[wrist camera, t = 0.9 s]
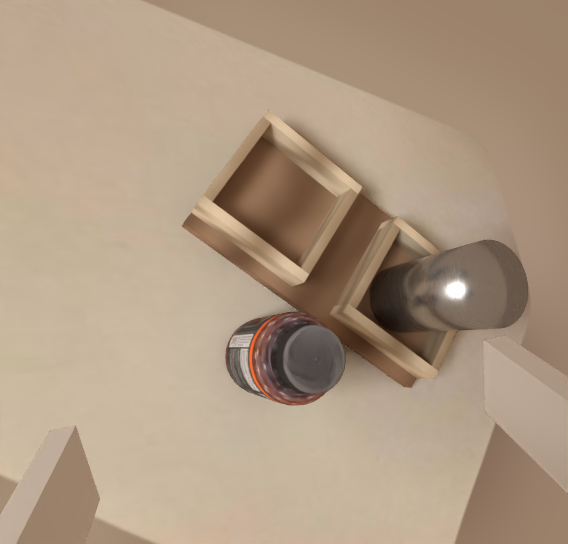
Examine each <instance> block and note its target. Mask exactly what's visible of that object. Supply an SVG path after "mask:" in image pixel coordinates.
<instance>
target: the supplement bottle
mask: <svg viewBox="0 0 568 544" xmlns="http://www.w3.org/2000/svg"><path fill="white" fill-rule="evenodd" d="M226 365H227V369H228V372H229V374H230V376H231V378H232V379H233V380H234V382H235V383H236V384H237V385H239V386H240V387H241V388H243V389H244V390H246V391H248V392H250V393H253V394H255V395H258V396H261V397H264V398H267V399H270V400H273V401H275V402H279V403H282V404H285V405H305V404H308V403H311V402H314V401H316V400H317V399H319V398H320V397H321V396H323V395H324V394H325V393H326V392H327V391H328V390H330V389H331V388H332V387H334V386H335V385H336V384H337V383H338V381H339V380H340V378H341V376H342V374H343V372H344V368H345V351H344V348H343V345H342V343H341V341H340V339H339V338H338V336H337V335H336V334H335V333H334V332H333V331H331V330H330V329H329V328H328V327H327V326H326V324H325V323H323V322H322V321H321V320H319V319H318V318H317V317H315V316H313V315H310V314H307V313H303V312H288V313H282V314H278V315H273V316H269V317H263V318H258V319H254V320H251V321H249V322H247V323H245V324H243V325H242V326H240V327H239V328H238V329H237V330H236V331H235V332H234V333H233V335H232V336H231V338H230V340H229V342H228V345H227V348H226Z"/></svg>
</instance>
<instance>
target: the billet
mask: <svg viewBox="0 0 568 544" xmlns="http://www.w3.org/2000/svg"><path fill="white" fill-rule="evenodd" d="M527 298H528V283H527V278H526V274H525V271H524V268H523V266H522V264H521V262H520V260H519V259H518V257H517V256H516V255H515V253H514V252H513V251H512V250H511V249H510V248H508V247H507V246H506V245H504V244H502V243H500V242H498V241H494V240H483V241H479V242H475V243H472V244H468V245H465V246H462V247H458V248H455V249H451V250H448V251H444V252H441V253H437V254H434V255H430V256H427V257H423V258H420V259H416V260H413V261H409V262H406V263H402V264H399V265H395V266H392V267H388V268H386V269H384V270H382V271H381V272H380V273H379V274H378V275H377V276H376V277H375V279H374V280H373V283H372V285H371V289H370V305H371V309H372V312H373V314H374V316H375V318H376V319H377V321H378V322H379V323H380V324H381V325H382V326H383V327H384V328H386V329H388V330H390V331H392V332H396V333H410V332H432V331H453V330H475V329H496V328H505V327H508V326H510V325H512V324H513V323H515V322H516V321H517V320H518V319H519V318H520V316H521V315H522V313H523V311H524V309H525V306H526V303H527Z"/></svg>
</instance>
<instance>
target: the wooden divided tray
mask: <svg viewBox="0 0 568 544" xmlns="http://www.w3.org/2000/svg"><path fill="white" fill-rule="evenodd" d="M361 189H362V186H361V185H359V184H358V183H357V182H356V181H355V180H353V179H352V178H351V177H350V176H348V175H347V174H346V173H345V172H344V171H342V170H341V169H340V168H339V167H338V166H336V165H335V164H334V163H333V162H331V161H330V160H329V159H328V158H327V157H325V156H324V155H323V154H322V153H321V152H319V151H318V150H317V149H316V148H314V147H313V146H312V145H311V144H310V143H308V142H307V141H306V140H305V139H304V138H302V137H301V136H300V135H299V134H298V133H296V132H295V131H294V130H293V129H291V128H290V127H289V126H288V125H287V124H285V123H284V122H283V121H282V120H281V119H279V118H278V117H277V116H276V115H274V114H273V113H272V112H271V111H270V110H268V111H267V112H266V113H265V115H264V116H263V117H262V118H261V120H260V121H259V122H258V124H257V125H256V126H255V128H254V129H253V130H252V132H251V133H250V134H249V136H248V137H247V138H246V139H245V141H244V142H243V143H242V145H241V146H240V147H239V149H238V150H237V151H236V153H235V154H234V155H233V157H232V158H231V159H230V160H229V162H228V163H227V164H226V166H225V167H224V168H223V170H222V171H221V172H220V174H219V175H218V176H217V178H216V179H215V180H214V181H213V183H212V184H211V185H210V187H209V188H208V189H207V191H206V192H205V193H204V195H203V196H202V197H201V199H200V200H199V201H198V202H197V204H196V206H195V207H194V209H193V211H192V213H191V214H190V215H189V217H188V218H187V219H186V221H185V222H184V223H183V225H182V227H184V228H185V229H186V230H188V231H189V232H190V233H192V234H193V235H195V236H196V237H197V238H199V239H200V240H201V241H203V242H204V243H206V244H207V245H208V246H210V247H211V248H213V249H214V250H215V251H217V252H218V253H219V254H221V255H222V256H224V257H225V258H226V259H228V260H229V261H231V262H232V263H233V264H235V265H236V266H237V267H239V268H240V269H242V270H243V271H244V272H246V273H247V274H249V275H250V276H251V277H253V278H254V279H255V280H257V281H258V282H260V283H261V284H262V285H264V286H265V287H266V288H268V289H269V290H271V291H272V292H273V293H275V294H276V295H278V296H279V297H280V298H282V299H283V300H284V301H286V302H287V303H289V304H290V305H291V306H293V307H294V308H296V309H297V310H298V311H300V312H303V313H307V314H310V315H313V316H315V317H317V318H318V319H319V320H321V321H322V322H323V323H325V324H326V326H327V327H328V328H329V329H330V330H331V331H333V332H334V333H335V334H336V335H337V336H338V338H339V339H340V341H341V342H343V343H344V344H345V345H347V346H348V347H349V348H351V349H352V350H354V351H355V352H356V353H358V354H359V355H361V356H362V357H363V358H365V359H366V360H367V361H369V362H370V363H372V364H373V365H374V366H376V367H377V368H379V369H380V370H381V371H383V372H384V373H385V374H387V375H388V376H390V377H391V378H392V379H394V380H395V381H396V382H398V383H399V384H401V385H402V386H403V387H411V388H412V386H413V383H414V381H415V379H416V378H424V379H434V380H435V378H436V376H437V374H438V372H439V369H440V367H441V365H442V363H443V361H444V358H445V356H446V354H447V352H448V350H449V347H450V345H451V343H452V341H453V339H454V336H455V334H456V332H457V330H453V331H432V332H410V333H396V332H392V331H390V330H388V329H386V328H384V327H383V326H382V325H381V324H380V323H379V322H378V321H377V319H376V318H375V316H374V314H373V312H372V309H371V305H370V289H371V285H372V283H373V280H374V279H375V277H376V276H377V275H378V274H379V273H380V272H381V271H382V270H384V269H386V268H388V267H392V266H395V265H399V264H402V263H406V262H409V261H413V260H416V259H420V258H423V257H427V256H430V255H434V254H437V253H441V251H439V250H438V249H437V248H436V247H435V246H433V245H432V244H431V243H430V242H429V241H427V240H426V239H425V238H424V237H423V236H421V235H420V234H419V233H418V232H416V231H415V230H414V229H413V228H412V227H410V226H409V225H408V224H407V223H406V222H404V221H403V220H402V219H401V218H399V217H398V216H396V217H394V218H392V219H391V218H389V217H388V216H387V215H386V214H384V213H383V212H382V211H381V210H380V209H378V208H377V207H376V206H375V205H374V204H372V203H371V202H370V201H369V200H367V199H366V198H365V197H364V196H363V195H361V194H360V193H359V192H360V190H361Z"/></svg>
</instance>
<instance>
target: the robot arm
mask: <svg viewBox="0 0 568 544" xmlns="http://www.w3.org/2000/svg"><path fill="white" fill-rule="evenodd" d="M483 345H484V388H485V412H486V413H487V414H488V415H489V416H490V417H491V418H492V419H493V420H494V421H495V422H496V423H497V424H498V425H499V426H500V427H501V428H502V429H503V430H504V431H505V432H506V433H507V434H508V435H509V436H510V437H511V438H512V439H513V440H514V441H515V442H516V443H517V444H518V445H519V446H520V447H521V448H522V449H523V450H524V451H525V452H526V453H527V454H528V455H529V456H530V457H531V458H532V459H533V460H534V461H535V462H536V463H538V465H539V466H541V468H543V470H544V471H545V472H546V473H547V474H548V475H549V476H551V477H552V478H553V479H554V480H555V481H556V482H557V483H558V484H559V485H560V486H561V487H562V488H563V489H564V490H565V491H566V492H567V493H568V376H566V375H565V374H563V373H562V372H560V371H559V370H557V369H555V368H554V367H552V366H551V365H549V364H548V363H546V362H545V361H543V360H542V359H540V358H539V357H537V356H536V355H534V354H532V353H531V352H530V351H528V350H527V349H525V348H523V347H522V346H520V345H519V344H517V343H516V342H514V341H513V340H511V339H510V338H508V337H507V336H500V337H495V338H490V339H486V340H483ZM99 500H100V497H99V494H98V491H97V488H96V485H95V482H94V479H93V476H92V473H91V470H90V467H89V464H88V461H87V458H86V455H85V452H84V449H83V446H82V443H81V440H80V437H79V434H78V431H77V428H76V426H71V427H66V428H62V429H57V430H52V431H49V433H48V435H47V436H46V438H45V440H44V441H43V443H42V445H41V446H40V448H39V450H38V452H37V453H36V455H35V457H34V458H33V460H32V462H31V463H30V465H29V467H28V469H27V470H26V472H25V474H24V475H23V477H22V479H21V480H20V482H19V484H18V486H17V488H16V489H15V491H14V492H13V494H12V496H11V498H10V499H9V501H8V503H7V504H6V506H5V508H4V509H3V511H2V513H1V514H0V544H85V543H86V539H87V537H88V533H89V530H90V527H91V524H92V521H93V518H94V515H95V512H96V509H97V506H98V503H99Z"/></svg>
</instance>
